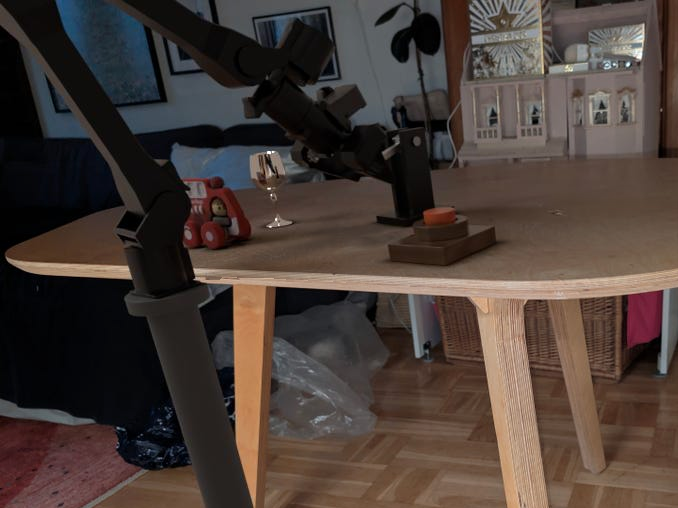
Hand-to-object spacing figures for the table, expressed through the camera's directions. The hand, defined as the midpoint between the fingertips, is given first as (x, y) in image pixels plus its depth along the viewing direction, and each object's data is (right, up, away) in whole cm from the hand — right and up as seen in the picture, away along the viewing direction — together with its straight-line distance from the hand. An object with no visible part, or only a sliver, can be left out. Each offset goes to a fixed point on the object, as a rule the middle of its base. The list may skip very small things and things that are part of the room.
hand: (376, 180), depth 107 cm
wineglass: (-19, -4, +15) cm, 24 cm away
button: (+11, -10, -18) cm, 23 cm away
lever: (+2, +3, +1) cm, 4 cm away
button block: (+11, -13, -16) cm, 24 cm away
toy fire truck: (-26, -9, +5) cm, 28 cm away
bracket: (+6, -4, +7) cm, 10 cm away
